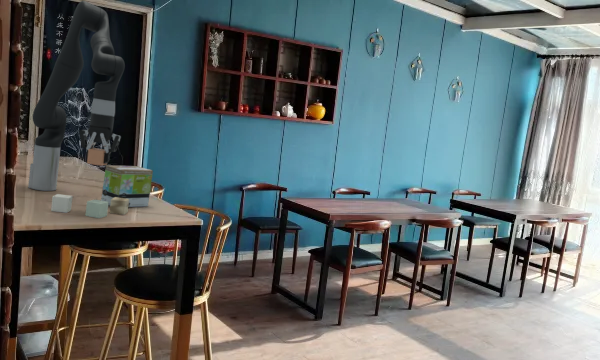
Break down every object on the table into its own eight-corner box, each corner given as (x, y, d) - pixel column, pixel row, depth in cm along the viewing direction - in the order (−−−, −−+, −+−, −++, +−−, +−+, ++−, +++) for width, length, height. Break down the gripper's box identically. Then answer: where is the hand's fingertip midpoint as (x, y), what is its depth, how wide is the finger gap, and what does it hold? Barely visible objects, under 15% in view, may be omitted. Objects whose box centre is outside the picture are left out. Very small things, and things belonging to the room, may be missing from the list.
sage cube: (85, 215, 173) (86, 201, 172) (93, 213, 178) (95, 199, 177) (99, 218, 172) (100, 203, 172) (106, 216, 177) (108, 201, 176)
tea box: (117, 208, 191) (122, 169, 189) (100, 203, 196) (104, 164, 194) (149, 206, 204) (153, 169, 202) (132, 201, 209) (136, 165, 207)
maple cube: (109, 213, 182) (111, 199, 182) (113, 210, 187) (115, 197, 187) (123, 215, 183) (125, 201, 182) (127, 212, 188) (129, 199, 187)
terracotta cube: (86, 163, 177) (88, 148, 176) (93, 162, 182) (94, 148, 181) (101, 165, 177) (103, 151, 176) (107, 164, 182) (108, 150, 181)
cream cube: (51, 211, 172) (52, 196, 171) (55, 208, 177) (57, 194, 176) (66, 213, 173) (68, 198, 172) (71, 210, 178) (72, 195, 177)
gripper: (77, 109, 173) (72, 159, 175) (119, 116, 173) (113, 166, 175) (86, 110, 181) (81, 158, 183) (127, 116, 181) (121, 164, 183)
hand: (97, 161), depth 179 cm, fingers closed on terracotta cube, 5 cm apart
